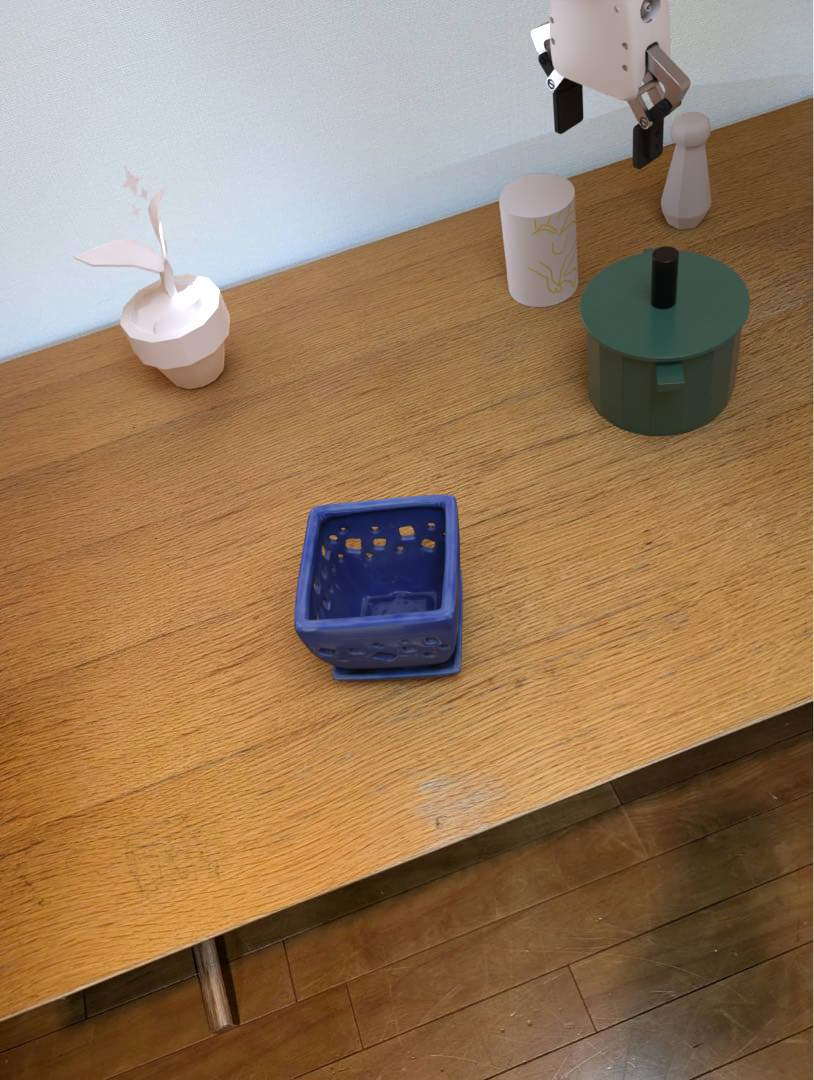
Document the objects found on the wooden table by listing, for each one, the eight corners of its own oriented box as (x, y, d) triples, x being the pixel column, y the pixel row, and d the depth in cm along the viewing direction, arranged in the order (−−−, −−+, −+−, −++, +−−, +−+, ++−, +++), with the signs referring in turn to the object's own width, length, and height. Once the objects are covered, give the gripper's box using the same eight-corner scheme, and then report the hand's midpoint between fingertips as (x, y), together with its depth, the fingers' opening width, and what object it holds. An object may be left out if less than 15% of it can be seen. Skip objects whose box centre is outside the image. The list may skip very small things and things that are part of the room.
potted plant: (235, 326, 121) (162, 139, 102) (255, 385, 114) (181, 195, 95) (136, 361, 120) (44, 178, 101) (151, 422, 113) (54, 238, 94)
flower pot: (335, 580, 95) (304, 501, 86) (473, 570, 93) (457, 488, 84) (324, 703, 87) (289, 631, 78) (474, 695, 85) (457, 620, 76)
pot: (721, 316, 108) (729, 235, 100) (744, 452, 96) (756, 372, 88) (585, 326, 111) (583, 248, 103) (591, 460, 99) (589, 383, 91)
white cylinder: (544, 316, 113) (537, 226, 104) (494, 289, 117) (483, 200, 108) (592, 279, 115) (590, 189, 106) (542, 254, 120) (535, 164, 111)
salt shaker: (650, 216, 121) (654, 116, 111) (691, 199, 122) (698, 98, 111) (677, 240, 117) (683, 139, 107) (719, 222, 118) (729, 120, 108)
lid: (738, 252, 99) (744, 194, 94) (759, 360, 90) (768, 303, 84) (578, 266, 102) (576, 211, 97) (582, 372, 92) (580, 317, 87)
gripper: (726, -54, 73) (710, 156, 87) (560, -98, 83) (569, 97, 96) (656, -12, 71) (650, 197, 84) (494, -62, 81) (512, 132, 94)
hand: (607, 143), depth 90 cm, fingers open, 9 cm apart
